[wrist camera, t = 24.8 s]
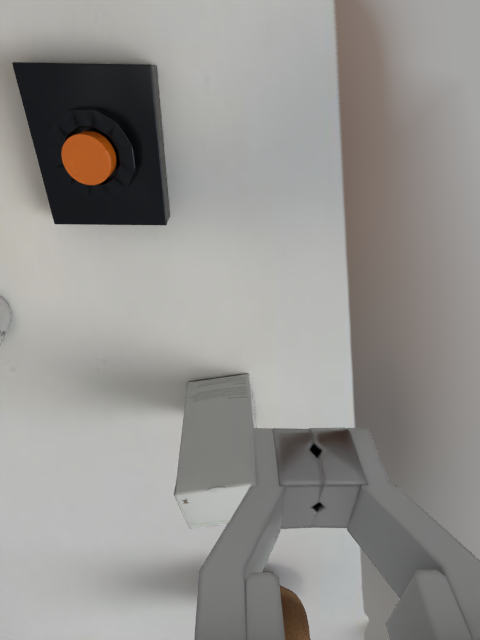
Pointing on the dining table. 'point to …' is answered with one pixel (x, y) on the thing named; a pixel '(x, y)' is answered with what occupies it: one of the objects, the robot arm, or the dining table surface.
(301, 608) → the vase
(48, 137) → the block
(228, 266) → the dining table surface
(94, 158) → the button
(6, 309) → the mug
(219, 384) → the cosmetic box
